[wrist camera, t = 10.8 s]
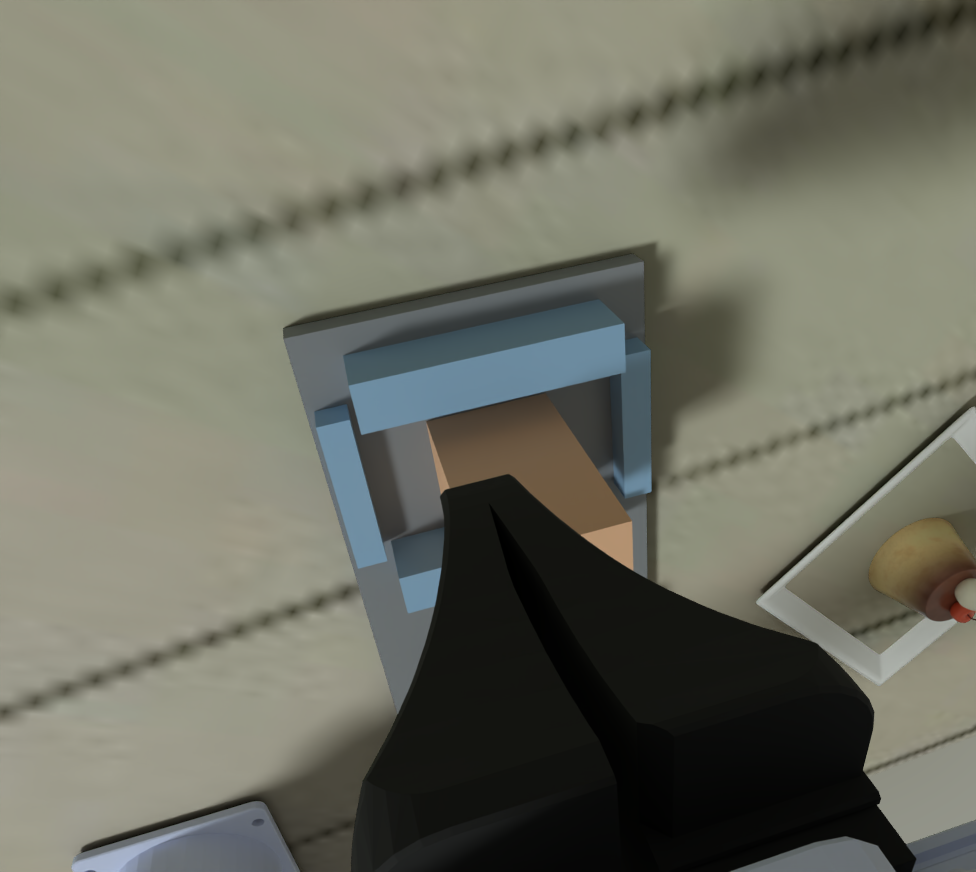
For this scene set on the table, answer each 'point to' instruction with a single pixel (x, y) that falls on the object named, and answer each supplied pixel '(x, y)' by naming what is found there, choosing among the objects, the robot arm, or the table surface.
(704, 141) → the table surface
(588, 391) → the grey fixture plate
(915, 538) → the dessert
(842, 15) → the table surface
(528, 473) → the tan cardboard block
